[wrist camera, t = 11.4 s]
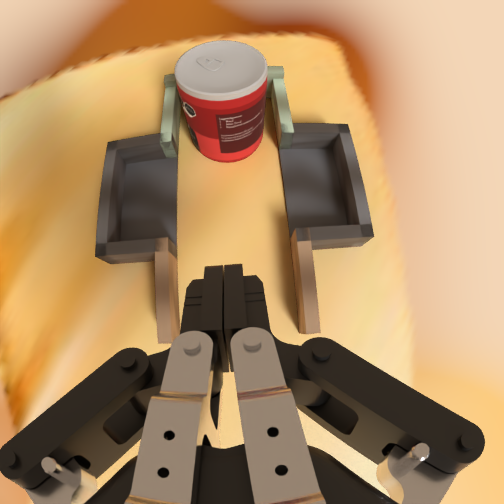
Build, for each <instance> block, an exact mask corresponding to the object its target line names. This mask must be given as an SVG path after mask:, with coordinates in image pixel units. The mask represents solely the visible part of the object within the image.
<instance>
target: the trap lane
mask: <svg viewBox="0 0 504 504" xmlns="http://www.w3.org/2000/svg"><path fill="white" fill-rule="evenodd" d="M267 69H268V74H267V90H266V98H271V101H272V107H273V114H274V120H275V127H276V133H277V140H278V147H279V154H280V162H281V169H282V176H283V184H284V192H285V200H286V208H287V216H288V225H289V233H290V242H291V251H292V261H293V270H294V280H295V291H296V301H297V313H298V324H299V333H301V334H314V333H321V332H320V321H319V310H318V299H317V289H316V280H315V271H314V262H313V254H312V250H316V249H330V248H344V247H358V246H362V245H363V244H365V243H366V242H367V241H369V240H370V239H371V238H373V237H374V234H373V228H372V223H371V217H370V212H369V207H368V203H367V198H366V193H365V189H364V184H363V180H362V176H361V172H360V168H359V163H358V160H357V156H356V152H355V148H354V144H353V141H352V137H351V134H350V130H349V127H348V124H329V123H292V118H291V113H290V108H289V103H288V98H287V93H286V88H285V83H284V69H283V66H267ZM164 84H165V87H166V89H165V97H164V105H163V113H162V123H161V133H158V134H152V135H145V136H139V137H133V138H128V139H122V140H117V141H112V142H108V144H107V150H106V156H105V162H104V169H103V175H102V183H101V191H100V199H99V209H98V220H97V233H96V249H95V257H97V258H99V259H101V260H103V261H105V262H107V263H110V264H118V263H133V262H147V261H155V292H156V317H157V335H158V343H172V342H173V341H174V339H175V338H176V337H177V336H179V335H180V318H179V299H178V273H177V173H178V147H179V128H180V112H181V105H182V102H181V99H180V95H179V92H178V88H177V83H176V80H175V74H170V75H165V78H164Z"/></svg>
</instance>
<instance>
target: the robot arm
mask: <svg viewBox="0 0 504 504" xmlns="http://www.w3.org/2000/svg"><path fill="white" fill-rule="evenodd" d="M229 363H230V369H231V372H234V375H235V382H236V389H237V397H238V404H239V411H240V417H241V424H242V430H243V437H244V443H245V444H242V445H238V446H234V447H231V448H227V449H221V443H220V421H221V408H222V394H223V388H222V385H223V372H229ZM297 408H298V409H299V410H301V411H302V412H303V413H305V414H306V415H307V416H309V417H310V418H311V419H313V420H314V421H315V422H317V423H318V424H319V425H321V426H322V427H323V428H325V429H326V430H328V431H329V432H330V433H332V434H333V435H335V436H336V437H337V438H339V439H340V440H342V441H343V442H345V443H346V444H347V445H349V446H350V447H352V448H353V449H355V450H356V451H358V452H359V453H361V454H362V455H364V456H365V457H367V458H368V459H370V460H371V461H373V462H374V463H376V464H377V465H378V467H377V473H376V474H377V479H378V481H379V483H380V484H381V485H382V486H383V487H384V488H385V489H386V490H387V491H388V493H389V495H390V497H388V496H386V495H385V494H383V493H382V492H381V491H379V490H378V489H376V488H375V487H373V486H372V485H370V484H369V483H368V482H366V481H365V480H363V479H362V478H360V477H359V476H358V475H356V474H355V473H354V472H352V471H351V470H350V469H348V468H347V467H346V466H344V465H343V464H342V463H340V462H339V461H338V460H336V459H335V458H334V457H332V456H331V455H330V454H328V453H326V452H324V451H322V450H320V449H318V448H315V447H312V446H309V445H307V443H306V439H305V436H304V432H303V429H302V425H301V422H300V418H299V415H298V411H297ZM140 439H141V442H140V447H139V452H138V455H137V456H135V457H134V458H132V459H131V460H130V461H128V462H127V463H126V464H125V465H124V466H123V467H122V468H121V469H120V470H119V471H118V472H117V473H116V474H115V475H114V476H113V477H112V478H111V479H110V480H109V481H108V482H107V483H105V484H104V485H103V486H102V487H101V488H100V489H99V490H97V481H96V479H97V478H98V477H99V476H100V475H101V474H103V473H104V472H105V471H106V470H107V469H108V468H109V467H110V466H112V465H113V464H114V463H115V462H116V461H117V460H118V459H119V458H121V457H122V456H123V455H124V454H125V453H126V452H127V451H128V450H129V449H130V448H131V447H133V446H134V445H135V444H136V443H137V442H138V441H139V440H140ZM484 446H485V439H484V435H483V433H482V431H481V429H480V428H479V427H478V426H476V425H475V424H474V423H472V422H470V421H468V420H466V419H465V418H463V417H461V416H459V415H457V414H456V413H454V412H452V411H450V410H449V409H447V408H445V407H443V406H442V405H440V404H438V403H436V402H435V401H433V400H431V399H429V398H428V397H426V396H424V395H423V394H421V393H419V392H417V391H416V390H414V389H412V388H411V387H409V386H407V385H406V384H404V383H402V382H401V381H399V380H397V379H395V378H394V377H392V376H390V375H389V374H387V373H385V372H384V371H382V370H380V369H379V368H377V367H376V366H374V365H372V364H371V363H369V362H367V361H366V360H364V359H362V358H361V357H359V356H357V355H356V354H354V353H353V352H351V351H349V350H348V349H346V348H345V347H343V346H341V345H340V344H338V343H336V342H335V341H333V340H331V339H328V338H323V337H317V338H312V339H309V340H307V341H306V342H304V343H303V344H302V346H298V345H292V344H287V343H284V342H282V341H280V340H278V339H277V338H276V337H275V336H274V335H273V334H272V332H271V330H270V325H269V318H268V312H267V306H266V301H265V294H264V287H263V282H262V281H261V280H260V279H259V278H258V277H257V276H256V275H252V276H243V268H242V264H232V265H224V268H223V265H219V266H205V271H204V279H196V280H192V282H191V283H190V284H189V286H188V287H187V289H186V296H185V302H184V309H183V315H182V322H181V329H180V335H179V336H177V337H176V338H175V339H174V341H173V342H172V345H171V347H170V348H169V349H167V350H165V351H163V352H159V353H156V354H152V355H149V356H147V354H146V353H145V352H144V351H143V350H141V349H138V348H126V349H123V350H121V351H119V352H118V353H116V354H115V355H114V356H113V357H111V358H110V359H109V360H108V361H106V362H105V363H104V364H103V365H101V366H100V367H99V368H98V369H96V370H95V371H94V372H93V373H92V374H90V375H89V376H88V377H87V378H85V379H84V380H83V381H82V382H80V383H79V384H78V385H77V386H75V387H74V388H73V389H72V390H71V391H69V392H68V393H67V394H66V395H64V396H63V397H62V398H61V399H59V400H58V401H57V402H56V403H55V404H53V405H52V406H51V407H50V408H48V409H47V410H46V411H45V412H44V413H42V414H41V415H40V416H39V417H37V418H36V419H35V420H34V421H32V422H31V423H30V424H29V425H28V426H26V427H25V428H24V429H23V430H22V431H20V432H19V433H18V434H17V435H15V436H14V437H13V438H12V439H11V440H9V441H8V442H7V443H6V444H4V446H2V448H1V449H0V471H1V473H2V474H3V475H4V476H5V477H6V478H8V479H10V480H11V481H13V482H15V483H16V484H18V485H19V486H20V487H22V488H23V489H25V490H26V492H27V493H28V495H29V496H30V498H31V500H32V501H33V503H34V504H439V503H440V502H441V500H442V498H443V497H444V495H445V494H446V492H447V490H448V489H449V487H450V485H451V484H452V482H453V480H454V478H455V477H456V475H457V473H458V472H459V471H461V470H462V469H464V468H465V467H467V466H468V465H469V464H471V463H472V462H474V461H475V460H476V459H477V458H479V457H480V455H481V454H482V452H483V449H484Z"/></svg>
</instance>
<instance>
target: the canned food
mask: <svg viewBox="0 0 504 504" xmlns="http://www.w3.org/2000/svg"><path fill="white" fill-rule="evenodd" d="M267 74H268V69H267V62H266V59H265V58H264V56H263V55H262V54H261V53H260V52H259V51H258V50H257V49H255V48H253V47H252V46H249V45H247V44H244V43H240V42H236V41H212V42H208V43H204V44H201V45H198V46H196V47H194V48H192V49H190V50H188V51H187V52H186V53H184V54H183V55H182V56H181V57H180V58H179V60H178V61H177V63H176V66H175V80H176V83H177V88H178V92H179V95H180V99H181V102H182V106H183V109H184V113H185V117H186V120H187V124H188V127H189V130H190V134H191V137H192V140H193V143H194V145H195V147H196V148H197V149H198V150H199V151H200V152H201V153H202V154H203V155H204V156H206V157H207V158H209V159H211V160H214V161H218V162H226V163H229V162H236V161H240V160H243V159H245V158H247V157H248V156H250V155H251V154H252V153H253V152H254V151H255V150H256V149H257V148H258V146H259V144H260V143H261V140H262V137H263V126H264V114H265V102H266V90H267Z"/></svg>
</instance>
